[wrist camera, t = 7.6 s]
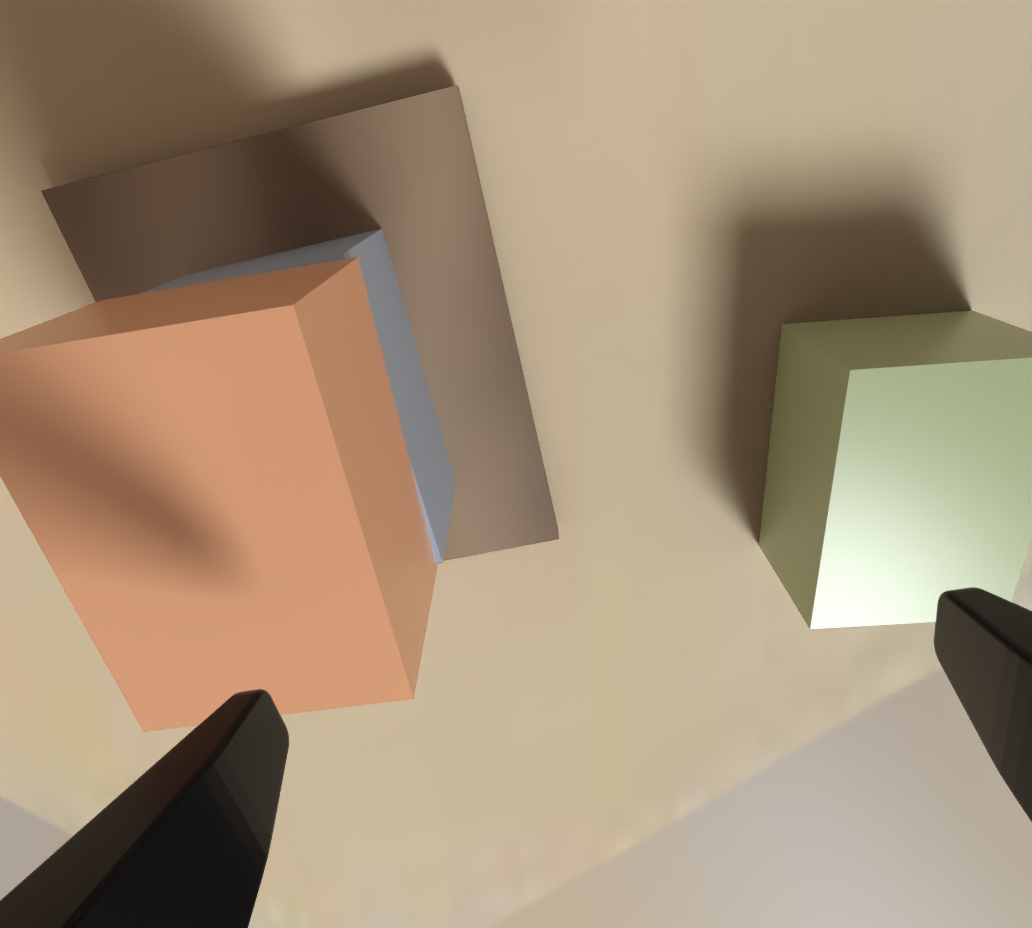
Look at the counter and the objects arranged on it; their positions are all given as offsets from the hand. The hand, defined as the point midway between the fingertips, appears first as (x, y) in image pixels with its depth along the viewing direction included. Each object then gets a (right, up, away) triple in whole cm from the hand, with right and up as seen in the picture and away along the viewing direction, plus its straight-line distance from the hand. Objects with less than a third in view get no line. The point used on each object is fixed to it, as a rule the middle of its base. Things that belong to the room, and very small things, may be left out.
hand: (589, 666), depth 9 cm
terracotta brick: (-6, +3, +5) cm, 8 cm away
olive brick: (+9, +4, +10) cm, 14 cm away
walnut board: (-6, +5, +9) cm, 12 cm away
